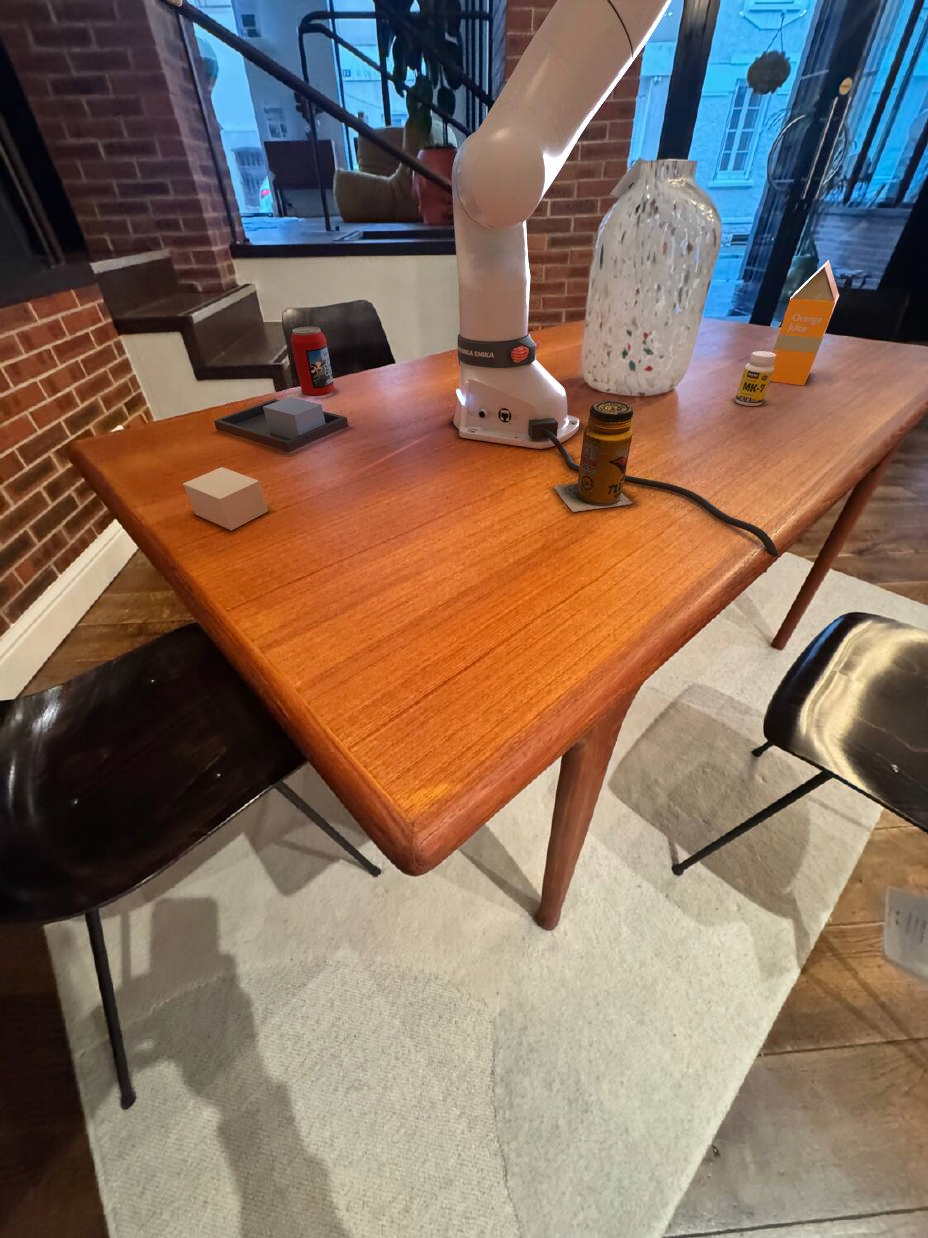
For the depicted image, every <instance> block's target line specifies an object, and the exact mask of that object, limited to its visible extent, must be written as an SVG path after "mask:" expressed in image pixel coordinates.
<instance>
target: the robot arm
mask: <svg viewBox="0 0 928 1238" xmlns="http://www.w3.org/2000/svg"><path fill="white" fill-rule="evenodd" d="M166 1H167V2H168V3H170V4H171V5H174V6H176V7H182V6H183V0H166ZM671 2H672V0H556V2H555V3H554V5H553V6H552V8H551V10H550V11H549V13H548V14H547V15H546V17H545V18H544V21H542V23H541V24H540V26H539V28H538V29H537V31H536V33H535V34H534V36H533V37H532V39H531V40H530V42H529V44H528V46H527V47H526V48H525V50H524V51H523V53H522V56H521V57H520V59H519V61H518V62H517V64H516V65H515V68H514V69H513V71H512V73H511V74H510V77H509V78H508V80H507V82H506V83H505V85H504V86H503V88H502V90H501V92H500V93H499V95H498V96H497V98H496V100H495V101H494V103H493V104H492V106H491V108H490V109H489V112H488V113H487V115H486V116H485V117H484V119H483V121H482V123H481V124H480V125H479V127H478V128H477V129H476V130H475V132H472V133H471V134H470V135H469V136H468V137H467V138H465V140H464V141H463V142H462V143H461V145H460V146H459V147H458V150H457V152H456V154H455V157H454V160H453V164H452V170H451V191H452V192H451V193H452V212H453V224H454V225H453V228H454V241H455V242H454V243H455V253H456V256H455V257H456V266H457V267H456V268H457V281H458V284H457V285H458V313H459V315H458V316H459V317H458V318H459V333H458V334H457V359H458V365H459V382H458V388H456V395H457V401H456V406H455V411H454V416H453V421H452V423H453V425H454V426H455V427H456V428H457V429H458V436H459V437H460V438H462V439H468V440H473V441H474V440H475V441H482V442H488V443H489V442H490V443H497V444H503V445H509V446H517V447H523V448H531V449H539V450H542V449H549V448H552V447H556V449H557V451H558V452H559V453H560V455H561V456H562V457H563V460H565V463H566V465H567V466H568V468H570V469H571V470H572V471H575V472H577V474H579V467H580V464H577V463H575V462H574V461H573V460H572V458H571V456H570V454H569V453H568V451H567V449H566V447H564V446H563V444H562V443H564V442H566V441H568V440H569V439H571V438H572V437H573V436H575V434H577V432H578V431H579V429H580V419H579V418H578V417H576V416H573V415H570V414H569V413H568V398H567V392H566V390H565V388H564V386H562V385H561V384H560V383H559V382H558V381H557V379H555V378H554V376H552V375H551V374H550V372H549V371H548V370H547V369H546V368H545V367H544V366H543V365H542V364H541V363H540V362H539V361H538V360H537V355H536V352H537V351H536V350H539V349H541V348H542V346H541V344H542V342H543V340H541V339H540V340H537V341H534V340H533V338H532V337H531V334H530V333H529V331H528V330H529V314H530V313H529V309H530V287H531V272H530V264H529V253H528V240H527V239H528V237H527V220H528V219H529V218H530V217H531V216H532V215H533V213H534V212H535V211H536V209H537V208H538V206H539V204H540V202H541V201H542V199H543V197H544V196H545V194H546V193H547V191H548V190H549V188H550V186H551V185H552V183H553V182H554V180H555V179H556V177H557V176H558V174H559V172H560V171H561V169H562V167H563V165H564V164H565V162H566V160H567V159H568V157H569V155H570V154H571V151H572V150H573V149H574V147H575V145H576V143H577V142H578V139H579V138H580V137H581V134H583V132H584V131H585V129H586V127H587V125H588V124H589V123H590V121H591V120H592V119H593V117H594V116H595V114H596V113H597V112H598V110H599V109H600V107H601V106H603V105H602V104H603V103H604V102H605V100H606V99H607V98H608V96H609V95H610V93H611V92H612V91H613V89H614V88H615V87H616V86H617V84H618V82H619V81H620V80H621V78H622V77H623V76H624V75H625V73H626V71H628V69H629V67H630V66H631V65H632V63H633V62H634V60H635V59H636V58H637V56H638V55H639V53H641V50H642V49H643V48H644V46H645V45H646V43H647V42H648V40H649V38H650V37H651V35H652V34H653V32H654V31H655V29H656V27H657V25H658V24H659V22H660V20H662V18H663V15H664V13H665V12H666V10H667V8H668V7H669V5H670V3H671ZM624 483H630V484H634V485H639V486H644V487H650V488H656V489H661V490H665V491H668V492H673V493H676V494H679V495H681V496H684V497H686V498H687V499H690V500H692V501H694V502H695V503H697V504H698V505H700V506H701V507H702V508H704V509H705V510H706V511H707V512H708V513H709V514H710V515H712V516H713V517H715V518H716V519H718V520H720V521H721V522H723V523H725V524H727V525H730V526H732V527H735V528H738V529H741V530H744V531H746V532H748V533H750V534H753V535H754V536H755V537H756V538H757V539H759V541H760V542H761V543H762V545H763V546H764V547H765V550H766V552H767V554H768V555H770V556H772V557H778V556H779V554H778V553H779V552H778V549H777V547H776V545H775V543H774V541H773V539H772V538H771V537H770V536H769V535H768V534H767V533H766V531H764V530H763V529H762V528H760V527H759V526H757V525H754V524H753V523H751V522H750V523H749V522H747V521H744V520H741V519H739V518H735V517H732V516H730V515H729V514H727V513H725V512H723V511H722V510H720V509H719V508H718V507H716V506H715V505H714V504H713V503H711V502H710V501H709V500H707V499H706V498H705V497H703V496H701V495H700V494H698V493H697V492H694V491H692V490H691V489H687V488H684V487H682V486H680V485H675V484H672V483H668V482H664V481H659V480H653V479H647V478H643V477H637V476H631V475H627V474H625V479H624Z"/></svg>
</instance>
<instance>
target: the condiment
mask: <svg viewBox="0 0 928 1238" xmlns="http://www.w3.org/2000/svg"><path fill="white" fill-rule="evenodd" d="M633 417H634V408H633V407H632V406H631V405H630V404H629V403H626V402H622V401H617V400H603V401H598V402H595V403H593V404H592V405H591V407H590V408H589V416H588V419H587V423H588V424H587V425H586V426H585V427H584V430H583V436H582V442H581V451H580V459H579V466H580V467H579V473H578V475H577V482H576V483H572V484H571V483H570V484H559V485H554V486H553V489H554V490H555V491H556V493H557V494H558V495H559V496H560V498H561V499H562V500H563V503H565V504H566V505H567V507H568V508H569V509H570V510H571V512H573V513H576V512H581V511H582V512H583V511H588V510H589V511H590V510H594V509H595V510H596V509H607V508H614V507H621V506H628V505H631V504H633V502H632V500H630V499H629V498H628V497H627V496H626V495H625V494H624V493H623V488H624V483H625V482H624V479H625V475H627V468H628V467H627V466H628V462H629V455H630V452H631V451H630V450H631V444H632V441H633V433H634V432H633V428H632V425H633Z"/></svg>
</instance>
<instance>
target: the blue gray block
mask: <svg viewBox="0 0 928 1238" xmlns="http://www.w3.org/2000/svg"><path fill="white" fill-rule="evenodd" d="M279 400H280V401H277V402H275V403H272V404H269V405H266V406H264V407H263V409H264V413H265V417H266V420H267V424H268V428H269V431H270V433H272V434H275V435H279V436H282V437H285V438H289V439H292V438H294V437H297V436H299V435H302V434H304V433H306V432H309V431H311V430H313V429H316V428H318V427H320V426H323V425H325V419H324V414H323V411H324V409H323V405H322V404H321V403H316V402H314V401H309V400H306V399H305V400H304V399H302V398H301V399H300V398H297V397H293V396H289V397H286V398H282V399H279Z"/></svg>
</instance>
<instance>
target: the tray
mask: <svg viewBox="0 0 928 1238" xmlns="http://www.w3.org/2000/svg"><path fill="white" fill-rule="evenodd" d="M280 400H281V399H276V398H273V399H270V400H267V401H264V402H262V403H259V404H256V405H254V406H250V407H248V408H245V409H242V410H239V411H236V412H234V413H231V414H228V415H225V416H223V417H220V418H217V419H214V420H213V423H214V427H215V429H216V430H218V431H221V432H223V433H227V434H230V435H233V436H236V437H240V438H243V439H246V440H249V441H252V442H255V443H259V444H262V445H265V446H268V447H271V448H274V449H278V450H280V451H284V452H286V453H291V452H293V451H296V450H298V449H300V448H302V447H305V446H306V445H309V444H311V443H313V442H316V441H318V440H320V439H322V438H325V437H327V436H329V435H331V434H333V433H336V432H338V431H340V430H343V429H344V428H347V427H349V422H348V417H347V416H343V415H340V414H335V413H332V412H328V411H324V410H323V414H324V419H325V425H323V426H320V427H318V428H316V429H313V430H311V431H309V432H306V433H304V434H302V435H299V436H297V437H294V438H292V439H289V438H285V437H282V436H279V435H275V434H272V433H270V431H269V428H268V424H267V420H266V417H265V413H264V409H263V407H264V406H266V405H269V404H272V403H275V402H277V401H280Z"/></svg>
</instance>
